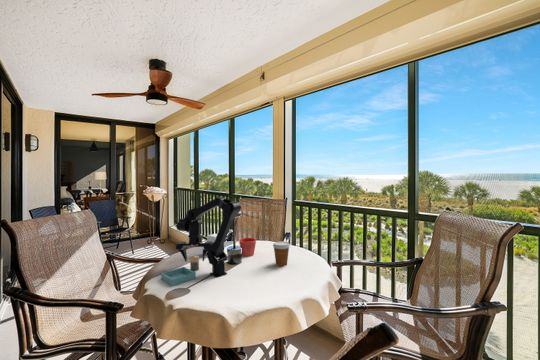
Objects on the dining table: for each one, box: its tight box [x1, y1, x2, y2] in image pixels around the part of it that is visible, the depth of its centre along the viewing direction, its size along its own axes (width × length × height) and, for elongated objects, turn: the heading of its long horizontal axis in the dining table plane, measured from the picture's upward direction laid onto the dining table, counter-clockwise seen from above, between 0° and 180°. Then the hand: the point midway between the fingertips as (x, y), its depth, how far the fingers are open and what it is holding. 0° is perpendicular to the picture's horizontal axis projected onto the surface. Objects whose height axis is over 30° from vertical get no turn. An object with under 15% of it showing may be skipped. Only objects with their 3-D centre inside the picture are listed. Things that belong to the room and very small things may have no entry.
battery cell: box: [189, 255, 200, 272], centre depth 134 cm, size 4×4×7 cm
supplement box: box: [206, 233, 218, 242], centre depth 161 cm, size 7×7×13 cm
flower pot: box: [238, 237, 257, 257], centre depth 160 cm, size 11×11×10 cm
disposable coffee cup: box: [272, 240, 290, 267], centre depth 141 cm, size 10×10×12 cm
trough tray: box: [160, 266, 197, 287], centre depth 121 cm, size 12×12×3 cm
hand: (194, 261), depth 134 cm, fingers open, 9 cm apart
